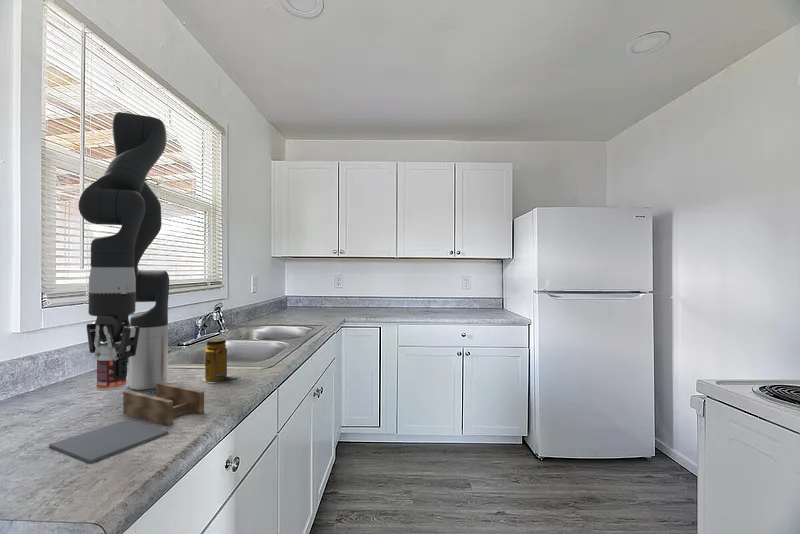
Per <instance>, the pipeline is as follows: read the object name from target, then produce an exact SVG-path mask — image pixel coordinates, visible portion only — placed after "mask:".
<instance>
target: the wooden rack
mask: <svg viewBox="0 0 800 534" xmlns="http://www.w3.org/2000/svg"><path fill="white" fill-rule="evenodd" d="M122 398H123V406H122V407H123V412H122V413H123V414H124V415H127V416H131V417H135V418H138V419H141V420H145V421H148V422H149V421H150V422H153V423H156V424H161V425H164V426H166V427H167V426H171V425H173V424H174V418H175V417H178V416H182V415H184V414H187V413H193V414H197V415H201V414H204V413H205V391H204V390H201V389H197V388H196V389H195V388H190V387H186V386H179V385H177V384H176V385H175V384H170V383H168V382H167V383H162V382H160V383H156V388H155V395H150V394H145V393H141V392H136V391H132V390H126V391H123V397H122Z"/></svg>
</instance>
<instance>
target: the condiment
mask: <svg viewBox="0 0 800 534" xmlns="http://www.w3.org/2000/svg"><path fill="white" fill-rule="evenodd" d="M226 342H227V341H226V340H225V339H222V338H215V339H210V340H207V342H206V349H205V353H204V356H205V357H204V358H205V359H204V361H205V362H204V365H205V366H204V373H205V374H204V375H205V376H204V377H205V378H200V379H199V380H200V381H203V382H206V383H209V384H210V385H211V384H216V383H217V384H218V383H222V382H225V381H229V380H234V379H237V378H238V376H234V375H231V374H228V349H227V348H226V346H227V344H226Z"/></svg>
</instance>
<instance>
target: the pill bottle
mask: <svg viewBox="0 0 800 534" xmlns="http://www.w3.org/2000/svg"><path fill="white" fill-rule="evenodd" d="M119 350H120V348H118V352H119ZM99 352H100V354H101V355H100V356H98V358H97V357H96V390H97V391H101V392H110V391H115V390H120V389H123V388H125V387H126V386H127V377H126V378H123V379H119V380H115V379H113V361H114V359H113V354H112V350H111V349H109V348H108V344H106V345H101V346H100V349H99Z"/></svg>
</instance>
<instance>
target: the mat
mask: <svg viewBox="0 0 800 534" xmlns="http://www.w3.org/2000/svg"><path fill="white" fill-rule="evenodd" d="M168 434H169V431H168V430H166V429H162V428H159V427H155V426H151V425H149V424H148V425H147V424H145V423H142V422H137V421H134V420H131V419H124V420H122V421H118V422H115V423H112V424H111V423H110V424H109V425H105V426H102V427H99V428H96V429H93V430H90V431H86V432H84V433H80V434H78V435H74V436H71V437H68V438H65V439H60V440H58V441H55V442H52V443H50V444H49V445H48V448H51V449H54V450H56V451H59V452H61V453H64V454H66V455H69V456H71V457H74V458H77V459H79V460H82V461H83V462H87V463H90V464H92V463H95V462H97V461H100V460H102V459H105V458H107V457H110V456H113V455H115V454H118V453H120V452H123V451H126V450H129V449H132V448H134V447H136V446H139V445H142V444H144V443H147V442H150V441H152V440H154V439H158V438H160V437H163V436H166V435H168Z"/></svg>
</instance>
